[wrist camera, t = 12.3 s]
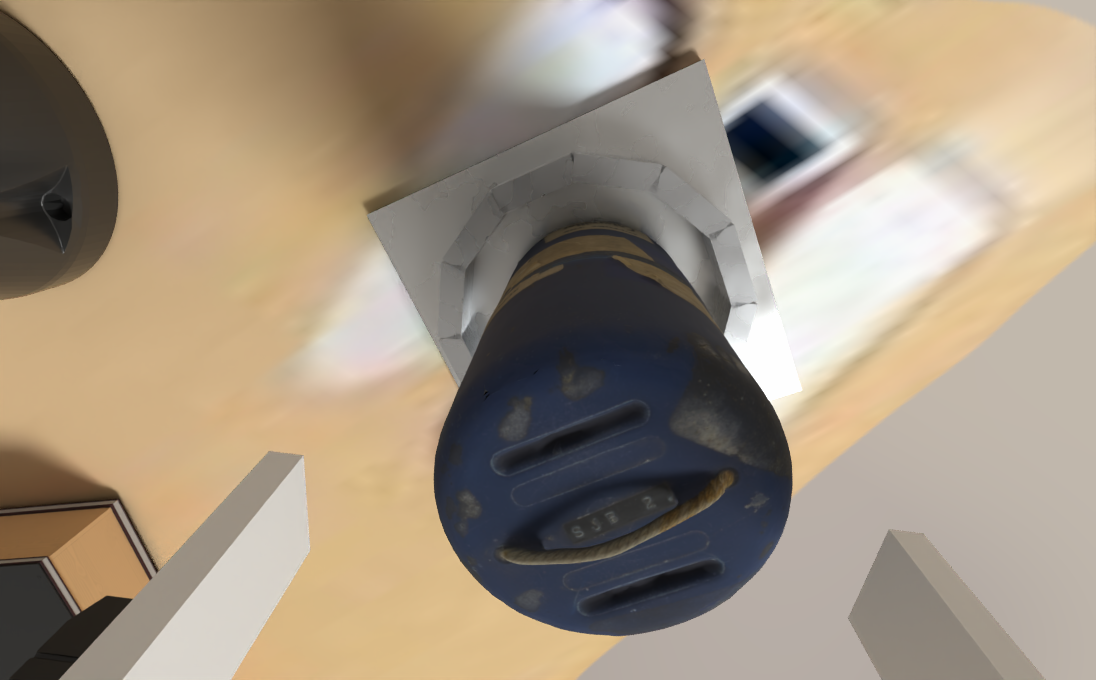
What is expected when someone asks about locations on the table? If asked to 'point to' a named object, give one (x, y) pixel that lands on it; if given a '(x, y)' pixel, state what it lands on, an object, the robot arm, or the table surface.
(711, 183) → the flange
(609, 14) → the table surface
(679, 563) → the canister
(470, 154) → the table surface
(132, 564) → the book
